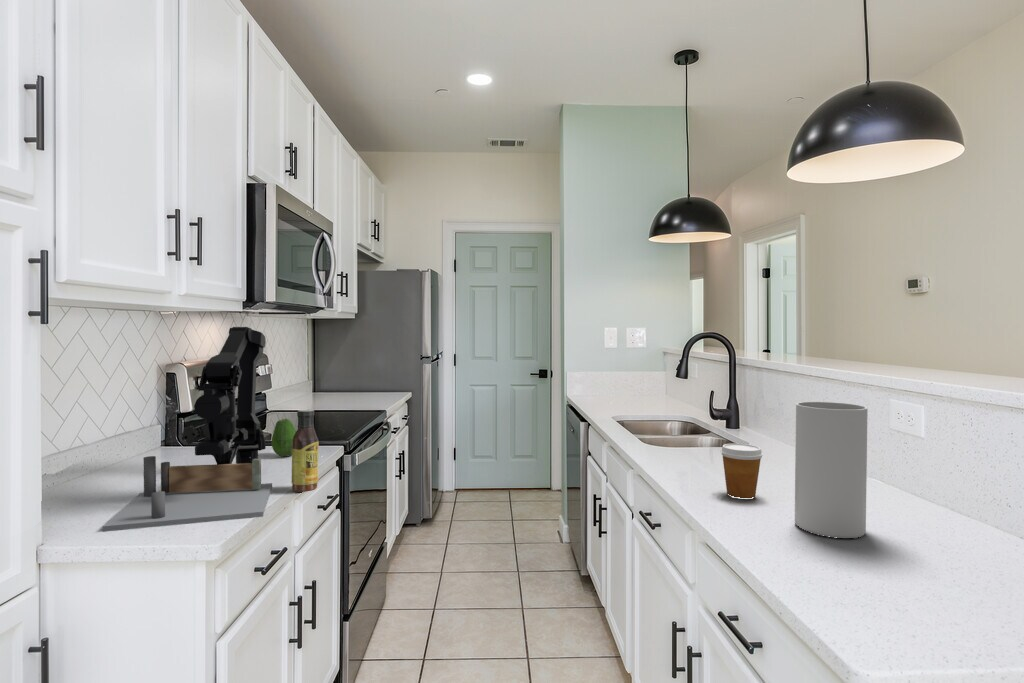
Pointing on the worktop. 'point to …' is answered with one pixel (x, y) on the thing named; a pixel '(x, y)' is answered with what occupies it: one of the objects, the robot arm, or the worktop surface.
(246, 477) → the gate
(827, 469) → the cylinder vase
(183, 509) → the gate frame
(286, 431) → the avocado
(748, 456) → the disposable coffee cup
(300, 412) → the sauce bottle
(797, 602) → the worktop surface
